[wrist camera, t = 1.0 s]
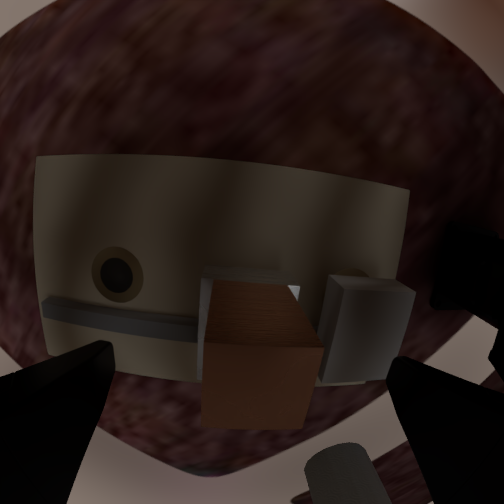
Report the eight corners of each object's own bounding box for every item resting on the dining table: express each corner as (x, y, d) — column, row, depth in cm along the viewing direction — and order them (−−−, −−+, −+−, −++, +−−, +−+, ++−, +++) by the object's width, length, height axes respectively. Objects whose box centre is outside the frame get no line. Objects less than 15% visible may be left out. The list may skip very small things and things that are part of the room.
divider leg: (285, 265, 15) (342, 347, 7) (272, 349, 16) (303, 463, 8) (207, 258, 15) (182, 340, 7) (202, 345, 16) (186, 461, 8)
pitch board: (396, 189, 17) (448, 193, 12) (357, 372, 19) (385, 415, 14) (49, 157, 14) (-1, 153, 9) (57, 344, 17) (23, 381, 12)
